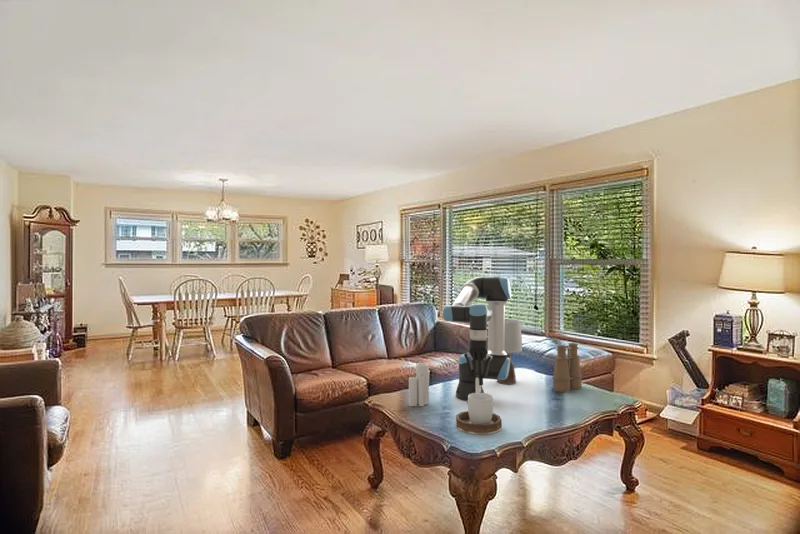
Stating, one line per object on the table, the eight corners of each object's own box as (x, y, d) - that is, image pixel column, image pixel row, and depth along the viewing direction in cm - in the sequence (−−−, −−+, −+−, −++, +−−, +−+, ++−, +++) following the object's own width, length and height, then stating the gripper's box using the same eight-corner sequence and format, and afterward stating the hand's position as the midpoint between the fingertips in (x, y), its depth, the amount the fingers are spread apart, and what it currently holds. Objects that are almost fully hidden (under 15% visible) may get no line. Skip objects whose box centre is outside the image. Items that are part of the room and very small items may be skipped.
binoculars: (563, 393, 259) (563, 347, 259) (548, 389, 267) (548, 345, 267) (585, 387, 271) (586, 343, 271) (570, 383, 279) (570, 341, 279)
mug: (463, 418, 216) (463, 390, 216) (486, 418, 217) (486, 389, 217) (471, 430, 201) (471, 400, 201) (496, 429, 202) (496, 399, 202)
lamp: (493, 386, 274) (493, 322, 273) (488, 378, 292) (488, 318, 292) (525, 386, 273) (525, 322, 272) (518, 378, 292) (518, 318, 291)
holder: (447, 428, 206) (447, 419, 206) (467, 415, 222) (467, 407, 222) (491, 437, 195) (491, 428, 195) (508, 423, 212) (508, 415, 211)
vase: (421, 400, 247) (421, 362, 246) (432, 403, 242) (432, 364, 241) (406, 405, 239) (406, 366, 238) (417, 408, 234) (417, 368, 233)
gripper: (461, 338, 208) (461, 392, 209) (488, 341, 201) (488, 396, 201) (468, 336, 215) (468, 388, 215) (495, 339, 208) (495, 392, 208)
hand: (478, 392), depth 208 cm, fingers closed
